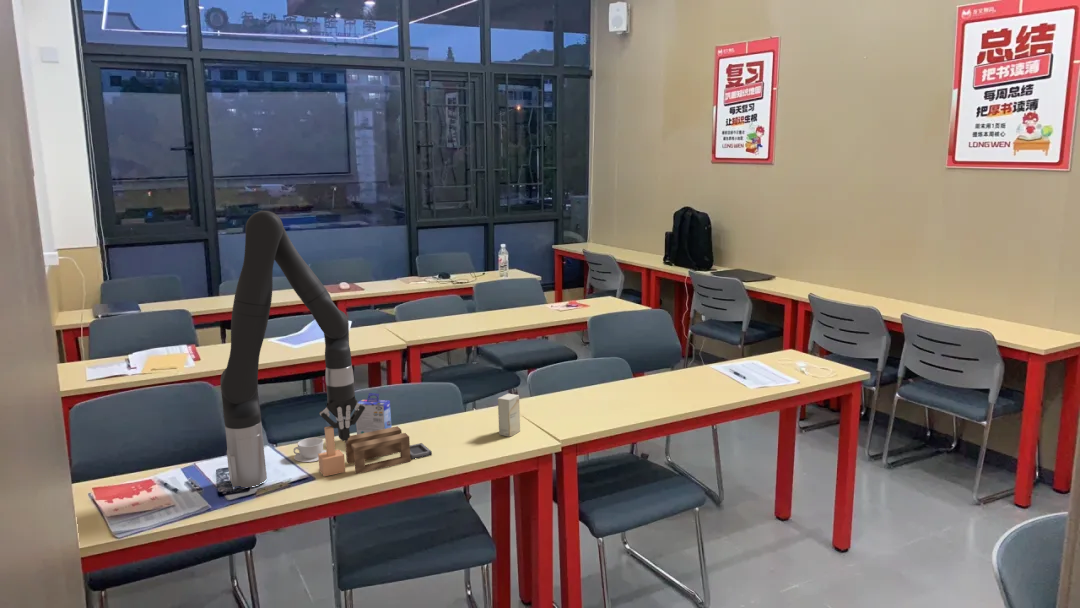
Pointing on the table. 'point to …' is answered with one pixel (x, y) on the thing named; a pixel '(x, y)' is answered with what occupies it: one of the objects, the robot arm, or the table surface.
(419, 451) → the tray
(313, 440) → the teacup
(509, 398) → the skincare box
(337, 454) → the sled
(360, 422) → the ink cartridge box
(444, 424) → the table surface
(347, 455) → the tunnel
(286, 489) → the table surface
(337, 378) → the robot arm
